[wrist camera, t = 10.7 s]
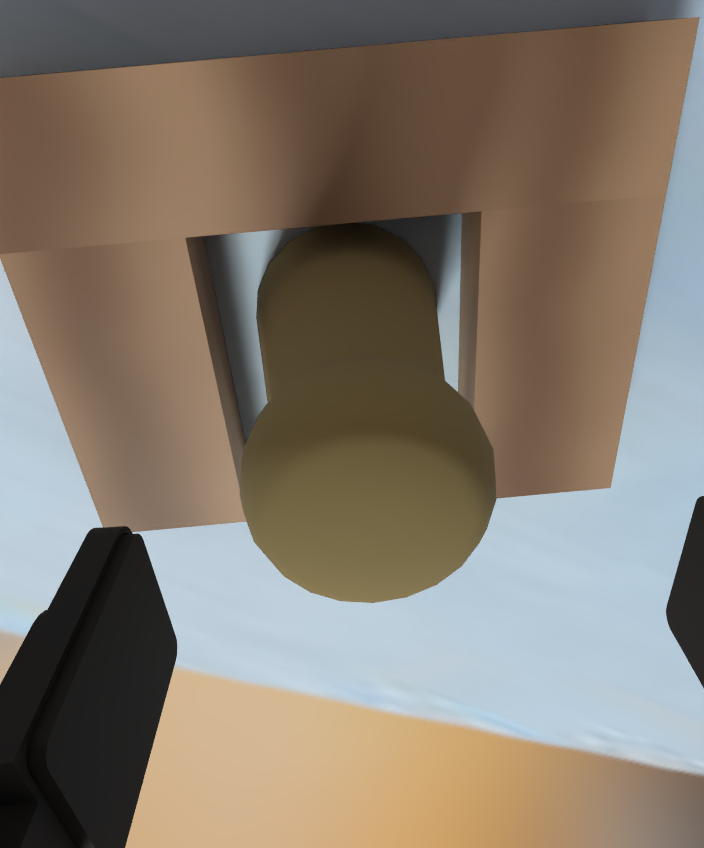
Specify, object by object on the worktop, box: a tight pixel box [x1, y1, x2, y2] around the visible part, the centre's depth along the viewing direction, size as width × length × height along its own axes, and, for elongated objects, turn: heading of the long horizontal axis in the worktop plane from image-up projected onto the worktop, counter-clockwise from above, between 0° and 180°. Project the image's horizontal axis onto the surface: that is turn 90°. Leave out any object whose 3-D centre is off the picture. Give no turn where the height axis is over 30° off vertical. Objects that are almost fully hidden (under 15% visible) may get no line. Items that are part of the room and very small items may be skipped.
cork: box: [240, 223, 496, 603], centre depth 16 cm, size 6×6×11 cm
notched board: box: [0, 17, 700, 532], centre depth 19 cm, size 18×14×2 cm
